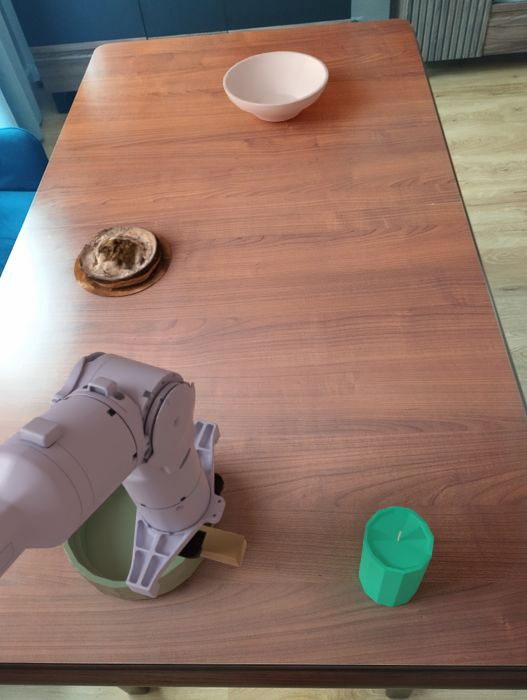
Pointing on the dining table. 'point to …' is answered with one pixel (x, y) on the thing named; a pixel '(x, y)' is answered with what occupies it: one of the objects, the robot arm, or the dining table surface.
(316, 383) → the dining table surface
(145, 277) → the brown mottled round dish
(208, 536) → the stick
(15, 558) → the robot arm
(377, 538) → the candle
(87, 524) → the mixing bowl
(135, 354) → the dining table surface
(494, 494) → the dining table surface
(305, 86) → the bowl
